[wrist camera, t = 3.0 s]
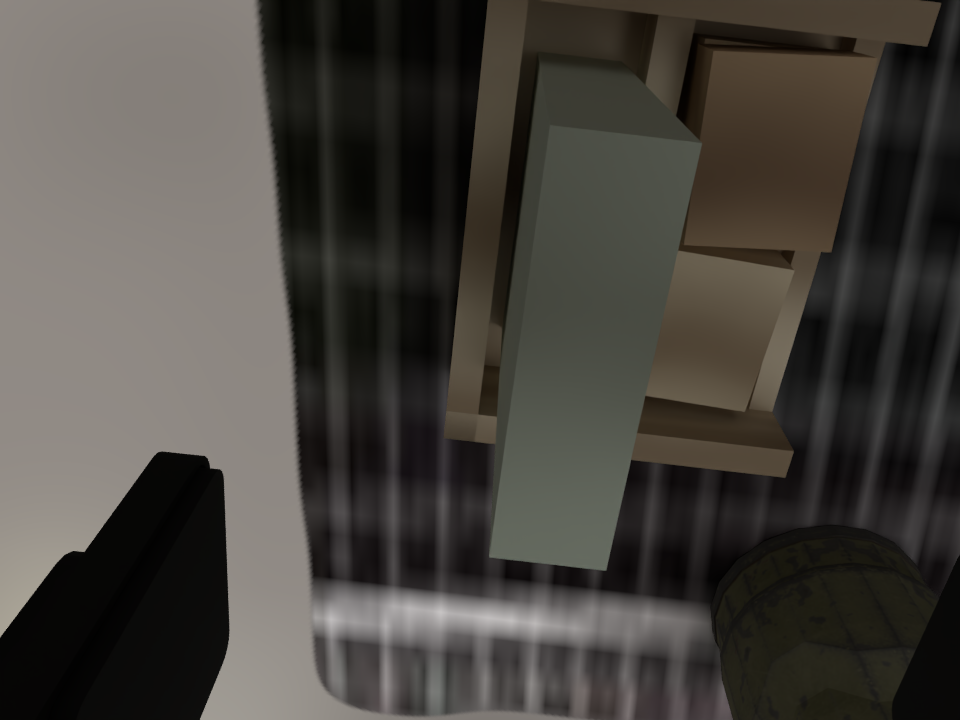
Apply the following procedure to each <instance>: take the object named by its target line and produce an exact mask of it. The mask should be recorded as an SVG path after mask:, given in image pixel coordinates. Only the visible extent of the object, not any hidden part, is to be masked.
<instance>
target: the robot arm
mask: <svg viewBox="0 0 960 720" xmlns="http://www.w3.org/2000/svg"><path fill="white" fill-rule="evenodd" d="M228 641H229V607H228V580H227V554H226V528H225V500H224V478H223V473H222V471H221V470H220V469H210V465H209V461H208V459H207V458H206V457H205V456H199V455H189V454H180V453H171V452H158V453H157V454H156V455H155V456H154V457H153V458H152V460H151V461H150V462H149V464H148V465H147V467H146V468H145V469H144V471H143V472H142V473H141V475H140V476H139V478H138V479H137V480H136V482H135V483H134V484H133V486H132V487H131V489H130V490H129V491H128V493H127V494H126V495H125V497H124V498H123V500H122V501H121V502H120V504H119V505H118V506H117V508H116V509H115V511H114V512H113V513H112V515H111V516H110V518H109V519H108V520H107V522H106V523H105V524H104V526H103V527H102V529H101V530H100V531H99V533H98V534H97V535H96V537H95V538H94V540H93V541H92V542H91V544H90V545H89V546H88V548H87V549H86V551H85V552H77V551H72V552H70V553H68V554H66V555H64V556H63V557H62V558H61V559H60V560H59V562H57V564H56V565H55V566H54V567H53V569H52V570H51V571H50V573H49V574H48V575H47V576H46V578H45V579H44V581H43V582H42V583H41V584H40V586H39V587H38V588H37V590H36V591H35V592H34V594H33V595H32V596H31V598H30V599H29V600H28V602H27V603H26V604H25V605H24V607H23V608H22V609H21V611H20V612H19V613H18V615H17V616H16V617H15V619H14V620H13V621H12V623H11V624H10V625H9V627H8V628H7V629H6V631H5V632H4V633H3V635H2V636H1V637H0V720H200V718H201V715H202V712H203V710H204V708H205V705H206V703H207V700H208V698H209V696H210V693H211V691H212V688H213V686H214V683H215V681H216V678H217V676H218V674H219V671H220V669H221V666H222V664H223V661H224V658H225V655H226V651H227V647H228ZM892 719H893V720H960V556H959V557H958V559H957V561H956V563H955V565H954V568H953V570H952V572H951V574H950V576H949V578H948V581H947V583H946V585H945V587H944V589H943V592H942V594H941V596H940V598H939V600H938V602H937V605H936V607H935V609H934V611H933V613H932V616H931V618H930V620H929V622H928V624H927V626H926V629H925V631H924V633H923V635H922V637H921V640H920V642H919V644H918V646H917V648H916V650H915V653H914V655H913V657H912V659H911V661H910V664H909V666H908V668H907V670H906V672H905V674H904V677H903V679H902V681H901V683H900V685H899V688H898V690H897V692H896V694H895V696H894V699H893V702H892Z"/></svg>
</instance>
